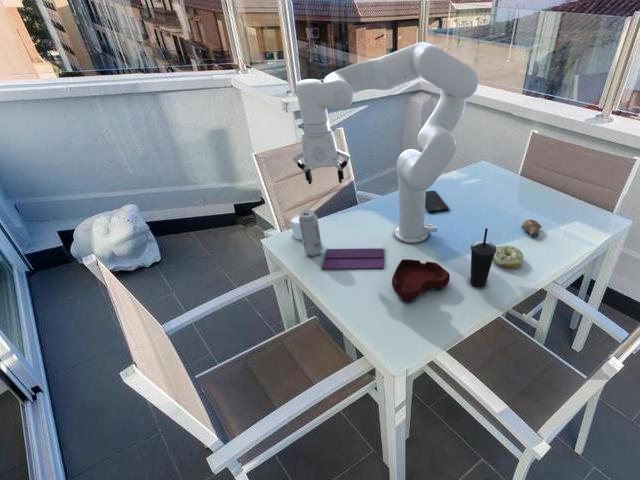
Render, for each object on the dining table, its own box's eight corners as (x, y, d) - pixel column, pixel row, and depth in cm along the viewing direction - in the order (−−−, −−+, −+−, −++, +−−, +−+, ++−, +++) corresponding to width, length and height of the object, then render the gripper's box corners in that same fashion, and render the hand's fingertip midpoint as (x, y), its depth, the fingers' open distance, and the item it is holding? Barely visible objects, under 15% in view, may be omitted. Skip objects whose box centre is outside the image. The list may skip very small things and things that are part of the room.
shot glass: (307, 241, 141) (304, 224, 136) (289, 239, 142) (286, 222, 137) (314, 232, 146) (312, 215, 142) (297, 230, 147) (294, 213, 143)
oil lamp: (515, 234, 148) (535, 241, 144) (517, 226, 145) (537, 233, 141) (526, 222, 153) (545, 229, 149) (527, 214, 150) (547, 221, 146)
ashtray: (424, 262, 131) (424, 250, 128) (453, 288, 120) (454, 276, 117) (378, 279, 124) (377, 267, 120) (405, 308, 113) (405, 296, 110)
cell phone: (429, 213, 158) (429, 211, 158) (416, 194, 172) (416, 192, 171) (449, 210, 161) (449, 208, 160) (434, 192, 174) (434, 190, 173)
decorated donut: (495, 270, 128) (496, 261, 126) (487, 252, 137) (489, 243, 134) (525, 269, 129) (527, 260, 126) (516, 251, 137) (518, 242, 135)
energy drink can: (320, 257, 133) (314, 218, 124) (303, 256, 133) (295, 218, 124) (324, 247, 138) (318, 209, 129) (307, 247, 138) (300, 209, 129)
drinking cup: (491, 278, 125) (501, 224, 112) (487, 293, 119) (497, 238, 107) (468, 273, 127) (476, 220, 114) (463, 287, 121) (470, 232, 109)
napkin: (383, 250, 137) (383, 248, 136) (382, 268, 128) (382, 266, 128) (326, 250, 136) (326, 249, 136) (322, 269, 128) (322, 267, 127)
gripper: (284, 132, 109) (296, 188, 120) (345, 130, 110) (351, 185, 121) (289, 124, 115) (300, 178, 126) (347, 122, 116) (353, 176, 126)
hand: (325, 181), depth 123 cm, fingers open, 9 cm apart
